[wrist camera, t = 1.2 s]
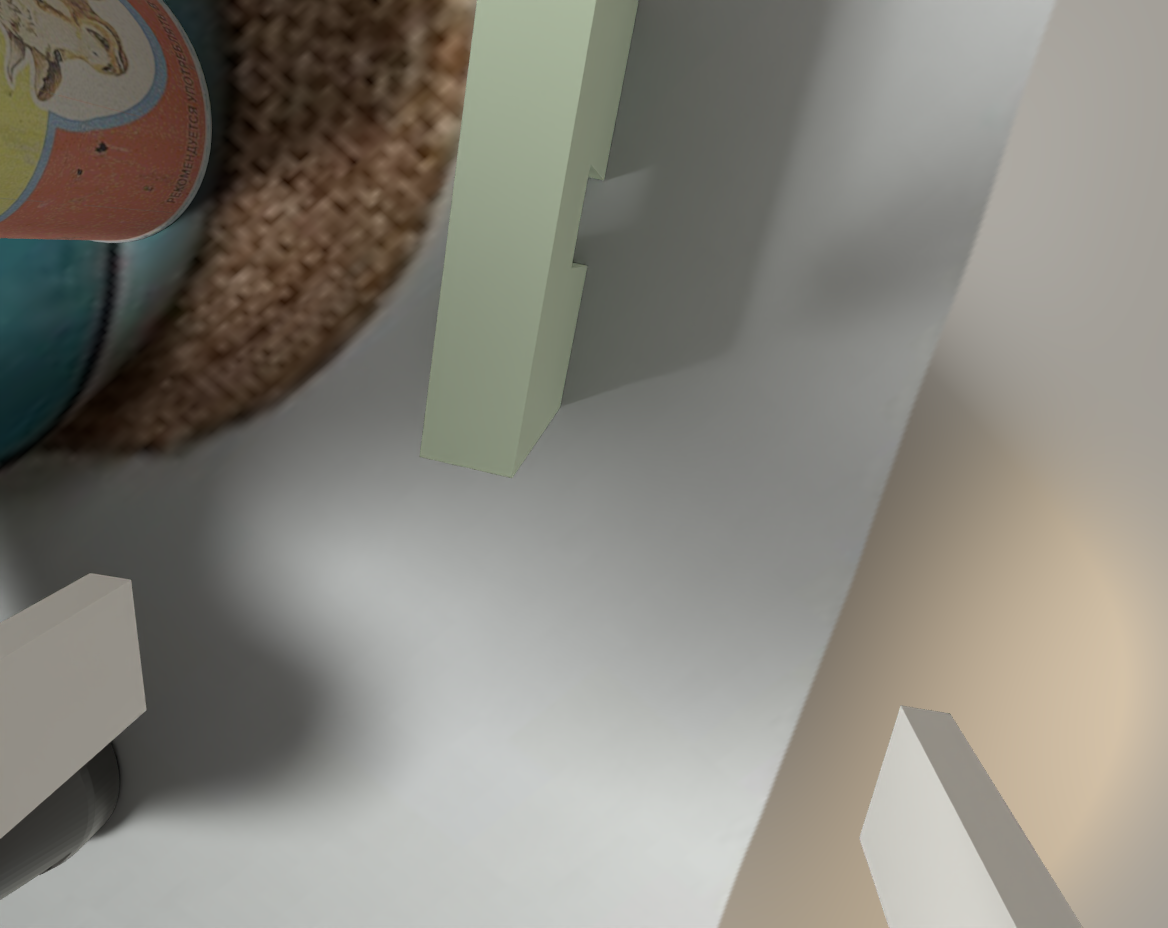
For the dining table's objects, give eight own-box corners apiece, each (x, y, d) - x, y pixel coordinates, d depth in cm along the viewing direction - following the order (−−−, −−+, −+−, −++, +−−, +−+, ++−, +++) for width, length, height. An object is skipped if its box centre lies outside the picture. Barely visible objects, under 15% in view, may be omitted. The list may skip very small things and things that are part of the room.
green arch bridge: (496, 393, 30) (419, 456, 21) (561, -12, 25) (498, -173, 16) (560, 407, 30) (512, 478, 21) (638, 3, 25) (622, -151, 16)
